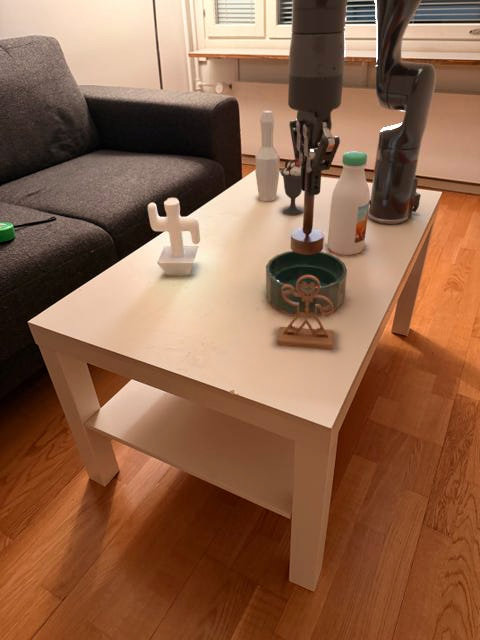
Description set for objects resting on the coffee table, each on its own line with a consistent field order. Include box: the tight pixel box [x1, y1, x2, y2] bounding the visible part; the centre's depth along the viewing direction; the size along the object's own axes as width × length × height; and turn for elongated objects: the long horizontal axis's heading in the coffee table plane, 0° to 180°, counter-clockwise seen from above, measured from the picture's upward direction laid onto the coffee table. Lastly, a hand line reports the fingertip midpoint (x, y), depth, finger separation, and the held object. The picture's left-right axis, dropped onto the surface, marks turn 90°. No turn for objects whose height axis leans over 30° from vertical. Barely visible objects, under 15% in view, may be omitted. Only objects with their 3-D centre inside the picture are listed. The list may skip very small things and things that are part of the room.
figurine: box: [147, 197, 201, 276], centre depth 91 cm, size 7×9×15 cm
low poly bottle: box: [254, 110, 281, 202], centre depth 120 cm, size 6×6×22 cm
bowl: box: [265, 250, 348, 316], centre depth 84 cm, size 14×14×6 cm
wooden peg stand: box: [290, 163, 325, 255], centre depth 75 cm, size 6×6×15 cm
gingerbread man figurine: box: [276, 275, 335, 350], centre depth 72 cm, size 9×4×12 cm, turn 80°
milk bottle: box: [327, 150, 371, 256], centre depth 95 cm, size 8×8×20 cm
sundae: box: [279, 158, 303, 216], centre depth 114 cm, size 7×7×15 cm
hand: (309, 191), depth 74 cm, fingers closed on wooden peg stand
